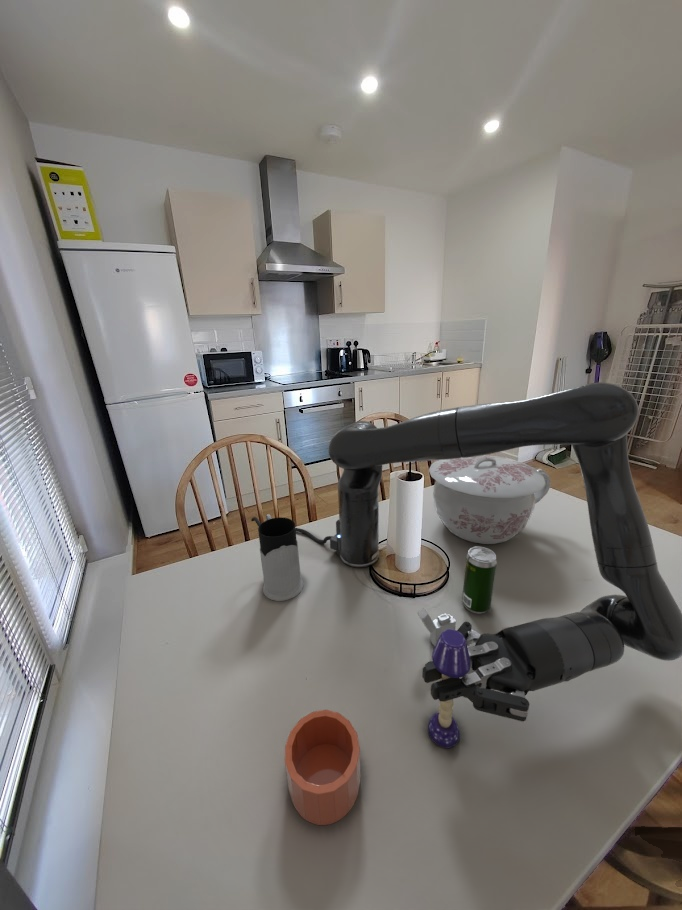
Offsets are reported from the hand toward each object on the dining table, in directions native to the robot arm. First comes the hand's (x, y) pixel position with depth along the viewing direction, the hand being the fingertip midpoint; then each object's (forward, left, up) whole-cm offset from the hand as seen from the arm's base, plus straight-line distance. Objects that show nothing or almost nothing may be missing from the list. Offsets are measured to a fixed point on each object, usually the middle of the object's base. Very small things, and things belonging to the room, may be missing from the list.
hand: (428, 683), depth 45 cm
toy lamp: (+2, +2, -10) cm, 11 cm away
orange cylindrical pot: (-8, -12, -10) cm, 18 cm away
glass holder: (-40, +11, -10) cm, 43 cm away
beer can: (-2, +28, -10) cm, 30 cm away
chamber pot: (-10, +56, -10) cm, 58 cm away
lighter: (-5, +15, -10) cm, 19 cm away
